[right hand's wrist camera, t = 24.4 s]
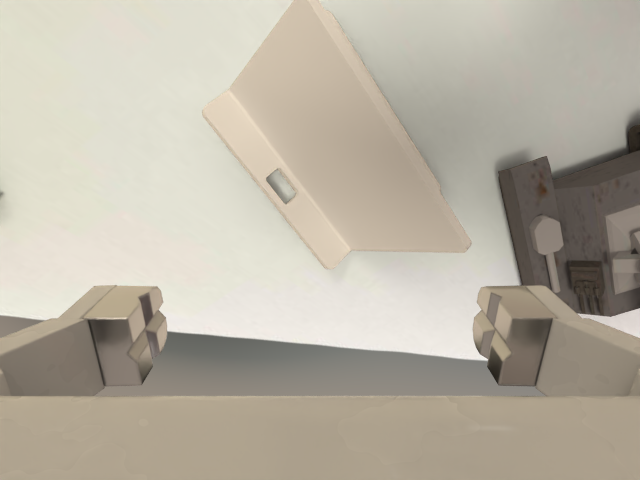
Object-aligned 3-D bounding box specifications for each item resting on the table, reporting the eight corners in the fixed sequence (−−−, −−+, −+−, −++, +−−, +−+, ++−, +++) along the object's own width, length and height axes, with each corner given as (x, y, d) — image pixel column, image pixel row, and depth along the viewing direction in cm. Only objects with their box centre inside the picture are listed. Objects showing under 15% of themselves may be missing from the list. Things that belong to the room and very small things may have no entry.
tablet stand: (327, 7, 43) (330, -37, 27) (442, 188, 51) (497, 236, 35) (203, 110, 47) (144, 124, 31) (327, 264, 54) (329, 338, 39)
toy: (491, 161, 49) (559, 191, 35) (660, 99, 47) (805, 107, 33) (528, 323, 58) (594, 399, 44) (672, 279, 55) (790, 345, 41)
